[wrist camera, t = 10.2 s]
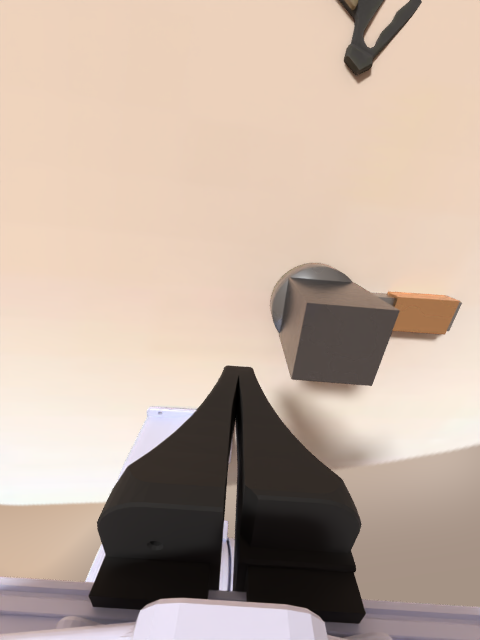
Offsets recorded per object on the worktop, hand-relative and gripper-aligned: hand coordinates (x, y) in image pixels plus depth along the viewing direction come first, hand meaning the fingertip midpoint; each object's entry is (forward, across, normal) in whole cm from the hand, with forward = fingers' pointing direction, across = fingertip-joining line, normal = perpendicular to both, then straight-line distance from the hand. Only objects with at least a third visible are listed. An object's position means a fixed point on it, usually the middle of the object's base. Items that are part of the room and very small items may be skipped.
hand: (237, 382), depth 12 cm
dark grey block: (+9, -6, -1) cm, 11 cm away
